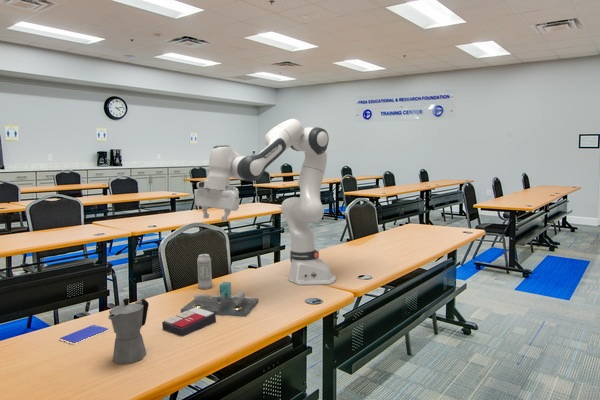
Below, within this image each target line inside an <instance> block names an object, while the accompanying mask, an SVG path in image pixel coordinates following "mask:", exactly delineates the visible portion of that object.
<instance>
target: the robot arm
mask: <svg viewBox="0 0 600 400" xmlns="http://www.w3.org/2000/svg"><path fill="white" fill-rule="evenodd" d="M329 139H330V138H329V134H328V132H327V130H326V129H324V128H322V127H320V126H319V127H318V126H317V127H311V126H310V127H308V126H307V127H304V126H303V124H302V123H301V122H300V121H299V120H298V119H297V118H290V119H287V120H284V121H282V122H280V123H279V124H277V125H275V126H273V127H272V128H271V129H270V130H269V131H268V132H267V133H266V134H265V136H264V143H265V146H266V147H265V148H263V149H262V150H261V151H259V153H257V154H253V155H241V154H239V153H238V152H236V151H235V150H234V149H233V148H232V146H231V145H227V144H226V145H225V144H224V145H216V146H213V147H212V148H211V150H210V153H209V161H208V169H209V170H208V175H207V179H205V180H201V181H199V182H197V183H196V188H197V189H196V190H195V194H194V204H195V206H196V207H201V212H202V214H203V216H202V218H203V219H209V217H210V213H208V209H209V208H210V209H218V210H224V211H223V212H224V215H222V216H221V222H228V217H229V216H230V215H231V211H233V212H234V211H235V212H237V211H238V209H239V207H240V205H239V204H240V197H239V194H240V191H239V189H238V188H237V187H236V186H230V185H231V184H230V182H231V178H232V179H234V180H243V181H244V180H245V181H248V182H255V181H258V180H260V178H261V177H262V176H263V173H264V172H265V170H266V169H267V168H268V167H269V166H270V165H271V164H272V163H274V162H275V160H277V159H278V158H279V157H280V156H281V155H282V154H283V153H284V152H285V151H286V150H288V149H290V148H291V149H292V150H294V151H296V152H304V159H303V163H302V166H301V170H300V173H299V176H298V180H297V186H298V187H299V197H297V196H293V197H289V198H286V199H284V200H283V201H282V202H281V207H280V211H281V214H282V215H283V216H284V218H285V220H286V223H287V226H288V231H289V234H290V250H289V251H290V252H289V261H290V269H289V270H290V271H289V275H288V281H290V282H291V283H295V284H296V285H298V286H299V285H300V286H304V285H305V286H309V285H315V286H316V285H331V284H334V283H335V282H336V279H337V277H336V275H335V274H334V273H332V270H331V267H330V264H328V263H327V262H326V261H324V260H323V259H321V258H320V252H319V250H316V249H315V233H314V231H313V229H311V226H310V224H309V223H316V222H319V221H321V220H322V218H323V217H324V213H325V209H324V205H323V203H322V201H321V187H322V183H323V179H324V176H325V172H326V168H327V163H328V162H327V161H328V153H327V152H326V151H327V148H328V145H329Z"/></svg>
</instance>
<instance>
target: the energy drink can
mask: <svg viewBox="0 0 600 400" xmlns="http://www.w3.org/2000/svg"><path fill="white" fill-rule="evenodd" d="M196 261H197V262H196V264H197V281H198V286H197V287H199V289H200V290H208V289H211V288H212V286H213V282H212V281H213V277H212V258H211V256H210V254H208V253H202V254H198V257H197V259H196Z"/></svg>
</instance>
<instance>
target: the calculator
mask: <svg viewBox="0 0 600 400" xmlns="http://www.w3.org/2000/svg"><path fill="white" fill-rule="evenodd" d="M216 316H217V315H215V313H213V312H210V311H207V310H203V309H200V308H196V307H195V308H193V309H190V310H188V311H185V312H182V313H181V312H180V313H177V314H175V315H173V316H170V317H169V318H166V319H164V320H163V321H162V330H164V331H166V332H168V333H171V334H174V335H177V336H180V337H184V336H187V335H189V334H192V333H194V332H196V331H198V330H201V329H203V328H205V327H208V326H210V325H212V324H215V323H217V317H216Z"/></svg>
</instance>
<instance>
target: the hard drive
mask: <svg viewBox="0 0 600 400" xmlns="http://www.w3.org/2000/svg"><path fill="white" fill-rule="evenodd" d="M106 330H108V331H109V328H107V327H104V326H100V325H97V324H92V325H89V326H87V327H85V328H82V329H79V330H77V331H75V332H72V333H70V334H66V335H64V336H62V337H59V338H60V339H63V340H66V341H69V342H72V343H76V342H79V341H81V340H83V339H86V338H88V337H91V336H94V335H96V334H99V333H102V332H104V331H106Z"/></svg>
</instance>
